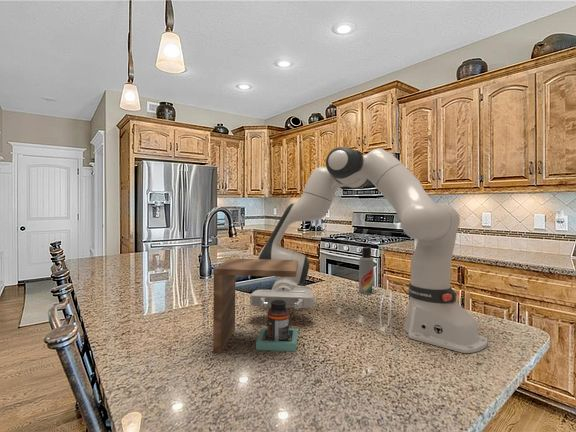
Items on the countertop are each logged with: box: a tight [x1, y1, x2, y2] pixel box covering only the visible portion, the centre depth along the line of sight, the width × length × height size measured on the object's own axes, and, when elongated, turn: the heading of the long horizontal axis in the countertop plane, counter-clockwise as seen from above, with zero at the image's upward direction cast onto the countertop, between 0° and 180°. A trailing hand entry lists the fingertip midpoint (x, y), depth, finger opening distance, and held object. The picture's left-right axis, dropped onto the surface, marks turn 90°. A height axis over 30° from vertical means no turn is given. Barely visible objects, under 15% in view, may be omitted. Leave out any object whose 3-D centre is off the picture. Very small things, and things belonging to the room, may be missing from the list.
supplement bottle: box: [266, 300, 290, 342], centre depth 93 cm, size 6×6×11 cm
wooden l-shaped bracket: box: [212, 257, 298, 354], centre depth 93 cm, size 21×16×22 cm
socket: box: [255, 326, 299, 352], centre depth 93 cm, size 10×10×2 cm
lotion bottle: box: [358, 246, 374, 295], centre depth 145 cm, size 6×6×20 cm
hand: (280, 306), depth 100 cm, fingers open, 8 cm apart
